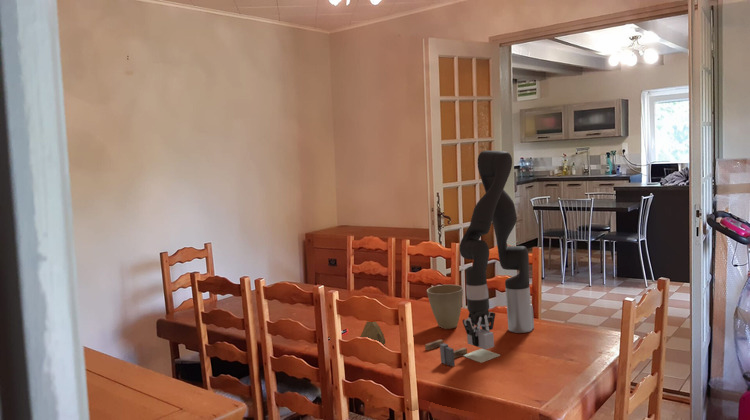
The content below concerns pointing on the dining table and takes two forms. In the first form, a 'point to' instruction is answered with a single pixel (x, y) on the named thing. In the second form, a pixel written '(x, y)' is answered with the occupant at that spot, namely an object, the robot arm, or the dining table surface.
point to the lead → (483, 339)
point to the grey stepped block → (447, 354)
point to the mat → (481, 355)
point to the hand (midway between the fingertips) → (481, 344)
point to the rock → (373, 332)
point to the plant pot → (446, 304)
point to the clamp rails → (437, 343)
